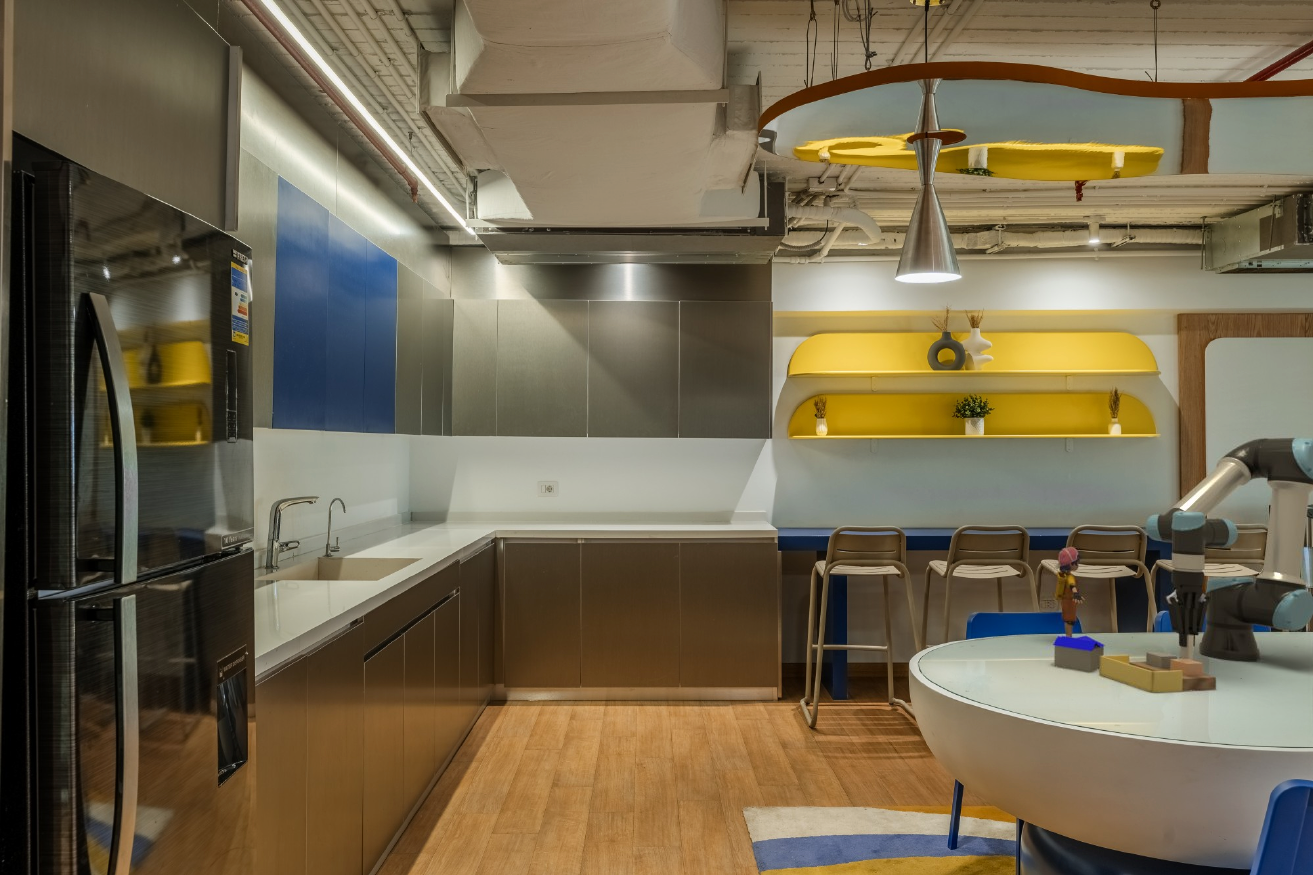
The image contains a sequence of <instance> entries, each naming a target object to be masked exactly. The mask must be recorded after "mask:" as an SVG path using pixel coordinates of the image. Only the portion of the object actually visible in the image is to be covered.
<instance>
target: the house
mask: <svg viewBox="0 0 1313 875" xmlns="http://www.w3.org/2000/svg"><path fill="white" fill-rule="evenodd" d="M1052 646H1054V659H1053V660H1054V662H1053V664H1054V665H1053V666H1054V667H1056V666H1057V668H1062V669H1068V670H1075V671H1080V672H1084V673H1085V672H1086V673H1092V672H1095V671H1098V670H1099V656H1105V655H1104V647H1105V646H1106V644H1103V643H1101V642H1099V641H1097V640H1095V639H1094V638H1092V637H1090V636H1087V635H1084V636H1083V635H1081V636H1078V637H1073V636H1072V637H1066V635H1062V636H1059V635H1058V636H1057V637H1056V638H1055V640H1054V642H1053V644H1052ZM1097 669H1098V670H1097Z"/></svg>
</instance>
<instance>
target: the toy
mask: <svg viewBox="0 0 1313 875" xmlns="http://www.w3.org/2000/svg"><path fill="white" fill-rule="evenodd" d="M1081 559H1082V556H1081V555H1080V554H1079V552H1078V550H1077V549H1076V547H1073V546H1072V547H1071V546H1069V547H1067V548H1066V547H1064V548H1062V549H1061V550H1060V552H1059V553H1058V555H1057V561H1058V563H1057V564H1055V565H1054V568H1055V569H1057V570H1058V569H1059V571H1057V572H1056V589H1055V592H1054V594H1053V596H1054V598H1055V600H1057V601H1060V606H1061V619H1062V620H1063V622H1064V630H1065V636H1066V637H1073V627H1074V626H1075V623H1076V622H1077V621H1078V618H1077V608H1078V604H1080V603H1081V604H1082V605H1083V601H1086V599H1085V598H1084V597H1083V596H1082V595H1081V594H1079V592H1080V591H1079V590H1080V589H1079V581H1078V580H1077V578H1076V576H1075V575H1074V574H1073V573H1072V572H1075V571H1076V572H1077V570H1079V566H1080V564H1079V563H1080V560H1081Z"/></svg>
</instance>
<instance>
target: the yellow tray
mask: <svg viewBox="0 0 1313 875" xmlns="http://www.w3.org/2000/svg"><path fill="white" fill-rule="evenodd" d="M1130 657H1131V656H1130V654H1116V655H1115V654H1113V655H1104V656H1099V669H1098V670H1099V672H1098V673H1099V674H1098V675H1099V676H1102V677H1105V678H1107V679H1110V680H1114V681H1115V682H1120V683H1123V684H1125V685H1128V686H1131V687H1134V688H1138V689H1139V690H1144V691H1146V692H1148V693H1152V694H1154V693H1155V694H1157V693H1156V692H1158V693H1171V692H1172V693H1173V692H1175V693H1176V692H1183V691H1182V686H1183V671H1181V670H1176V671H1155V672H1152V671H1149V670H1146V669H1143V668H1139V667H1136V666H1133V665H1130V664H1129V662H1130Z"/></svg>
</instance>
